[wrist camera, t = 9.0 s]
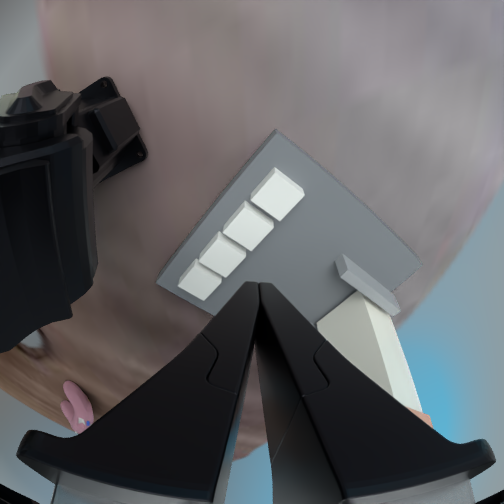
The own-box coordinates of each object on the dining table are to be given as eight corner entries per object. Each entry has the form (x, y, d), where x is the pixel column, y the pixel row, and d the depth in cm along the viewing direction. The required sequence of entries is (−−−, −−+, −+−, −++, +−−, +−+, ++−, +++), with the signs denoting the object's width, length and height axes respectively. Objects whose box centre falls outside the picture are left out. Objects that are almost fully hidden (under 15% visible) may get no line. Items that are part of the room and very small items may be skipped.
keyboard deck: (159, 273, 26) (149, 299, 24) (275, 128, 20) (278, 141, 17) (303, 351, 32) (306, 377, 30) (420, 259, 25) (435, 282, 23)
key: (311, 323, 27) (330, 459, 17) (360, 284, 25) (403, 426, 15) (345, 342, 29) (369, 465, 19) (391, 308, 27) (434, 434, 16)
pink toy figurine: (84, 401, 45) (92, 439, 41) (59, 401, 42) (66, 440, 38) (92, 378, 40) (101, 423, 36) (62, 378, 37) (69, 424, 33)
